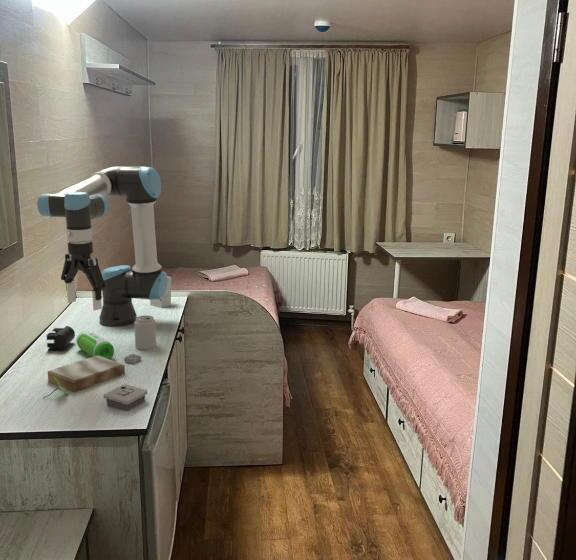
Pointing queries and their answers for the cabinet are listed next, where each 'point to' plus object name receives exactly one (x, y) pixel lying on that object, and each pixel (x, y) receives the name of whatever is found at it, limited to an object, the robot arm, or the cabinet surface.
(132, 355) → the grey square block
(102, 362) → the stand
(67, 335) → the end cap
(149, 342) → the can
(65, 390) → the seedling
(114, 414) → the cabinet surface
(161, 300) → the skincare box
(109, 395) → the electrical switch
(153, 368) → the cabinet surface
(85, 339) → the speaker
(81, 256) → the robot arm
